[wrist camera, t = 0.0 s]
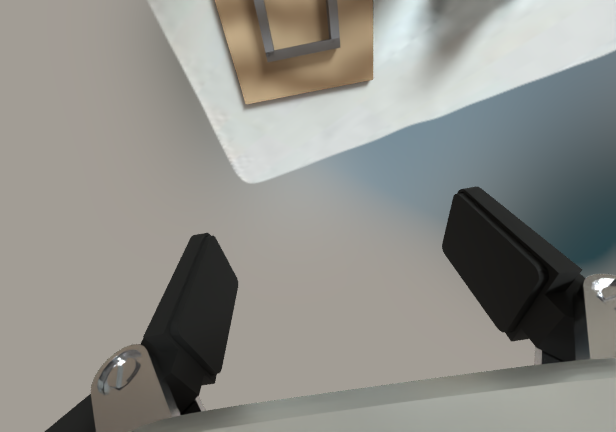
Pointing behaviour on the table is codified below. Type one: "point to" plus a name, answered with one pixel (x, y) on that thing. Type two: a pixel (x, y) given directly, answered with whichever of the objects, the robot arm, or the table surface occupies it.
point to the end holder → (297, 44)
